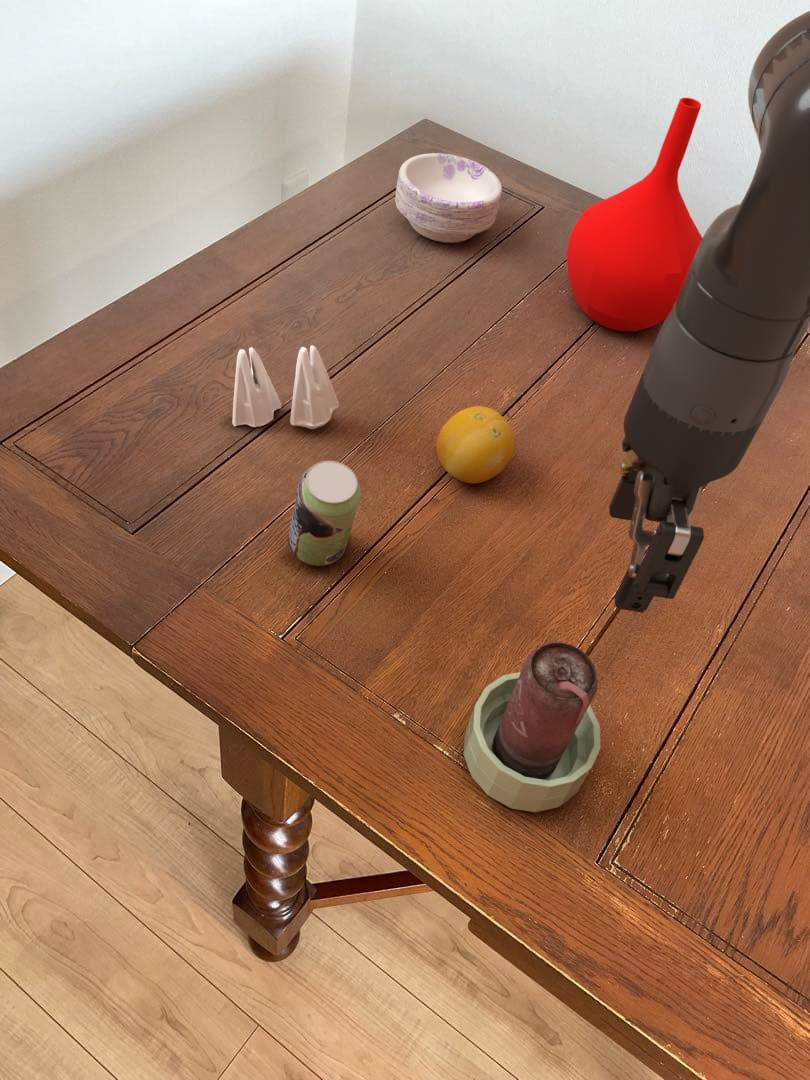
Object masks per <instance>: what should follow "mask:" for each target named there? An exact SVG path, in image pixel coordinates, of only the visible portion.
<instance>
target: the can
mask: <svg viewBox="0 0 810 1080" xmlns="http://www.w3.org/2000/svg"><path fill="white" fill-rule="evenodd" d="M520 672H521V673H520V676H519V678H518V680H517V683H516V685H515V688H514V690H513V693H512V695H511V697H510V700H509V702H508V705H507V707H506V709H505V712H504V714H503V717H502V719H501V722H500V724H499V726H498V729H497V731H496V734H495V736H494V738H493V745H492V750H493V754H494V755H495V756H496V757H497V758H498V759H499V760H500V761H501V763H502V764H503V765H504V766H506V767H508V768H510V769H512V770H514V771H515V772H517V773H519V774H521V775H523V776H525V777H530V778H536V779H542V780H543V779H545V778H547V777H548V776H550V775H551V774H552V773H553V772H554V770H555V768H556V767H557V765H558V763H559V761H560V759H561V757H562V755H563V754H564V752H565V750H566V748H567V746H568V744H569V742H570V740H571V739H572V737H573V735H574V733H575V731H576V729H577V727H578V726H579V724H580V722H581V720H582V718H583V716H584V714H585V712H586V711H587V709H588V707H589V705H590V706H591V703H592V701H593V699H594V697H595V696H596V693H597V691H598V683H599V679H598V676H597V675H598V674H597V670H596V666H595V664H594V663H593V661H592V659H591V658H590V656H588V655H587V654H586V653H585V651H583V650H582V649H580V648H578V647H577V646H574V645H573V644H570V643H565V642H561V641H560V642H559V641H558V642H549V643H546V644H544V645H541V646H540V647H537V648H536V649H535V650H533V651H532V652H531V653H529V654H528V656H527V658H526V660H525V661H524V664H523V666H522V668H521V671H520Z"/></svg>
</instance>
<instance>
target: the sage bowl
mask: <svg viewBox="0 0 810 1080" xmlns="http://www.w3.org/2000/svg"><path fill="white" fill-rule="evenodd" d="M520 673H521V671H518V672H513V673H508V674H503V675H501V676H500V677H499V678H497V679H495V680H494V681H492V682H491V683H490V684H488V685H487V686H485V687H484V689H483V690H482V692H481V694H480V696H479V697H478V699H477V701H476V702H475V704H474V707H473V710H472V712H471V715H470V718H469V721H468V723H467V725H466V729H465V731H464V738H463V757H464V760H465V763H466V765H467V768H468V770H469V773H470V776H471V778H472V779H473V780H474V782H475V783H476V784H477V785H478V786H479V787H480V788H481V789H482V791H483V792H484V793H485V795H486V796H488V797H490V798H492V799H493V800H495V801H497V802H499V803H501V804H503V805H504V806H506V807H507V808H509V809H512V810H518V811H524V812H531V813H540V812H543V811H548V810H552V809H556V808H560V807H562V806H563V804H565V803H566V802H567V801H569V800H570V799H571V798H573V797H574V796H575V795H576V794H577V793H578V792H579V791H580V788H581V787H582V785H583V784H584V782H585V780H586V778H587V777H588V775H589V774H590V771H591V770H592V768H593V766H594V764H595V762H596V759H597V758H598V756H599V753H600V751H601V725H600V723H599V721H598V719H597V717H596V714H595V712H594V710H593V708H592V705H591V704H590V705H589V707H588V709H587V711H586V712H585V714H584V716H583V718H582V720H581V722H580V724H579V726H578V727H577V729H576V731H575V733H574V735H573V737H572V739H571V740H570V742H569V744H568V746H567V748H566V750H565V752H564V754H563V755H562V757H561V759H560V761H559V763H558V765H557V767H556V768H555V770H554V772H553V773H552V774H551V775H550V776H548V777H547V778H545V779H543V780H542V779H536V778H530V777H525V776H523V775H521V774H519V773H517V772H515V771H514V770H512V769H510V768H508V767H506V766H504V765H503V764H502V763H501V761H500V760H499V759H498V758H497V757H496V756H495V755H494V754H493V750H492V745H493V738H494V736H495V734H496V731H497V729H498V726H499V724H500V722H501V719H502V717H503V714H504V712H505V709H506V707H507V705H508V702H509V700H510V697H511V695H512V693H513V690H514V688H515V685H516V683H517V680H518V678H519V676H520Z"/></svg>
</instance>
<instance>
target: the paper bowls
mask: <svg viewBox="0 0 810 1080" xmlns="http://www.w3.org/2000/svg"><path fill="white" fill-rule="evenodd" d="M502 193H503V185H502V183H501V181H500V178H499V177H498V175H496V174H495V173H494V172H493V170H491V169H490V168H488V167H486V166H485V165H483V164H481V163H479V162H477V161H475V160H472V159H469V158H466V157H463V156H461V155H455V154H451V153H442V152H441V153H438V152H433V153H432V152H431V153H423V154H422V153H421V154H418V155H414V156H412V157H410V158H408V159H407V160H405V161H404V162H403V163H402V164H401V166H400V168H399V170H398V177H397V182H396V188H395V197H394V202H395V206H396V209H397V210H398V211H399V212H400V214H402V216H403V217H405V219H407V220H408V223H409V224H410V226H411V228H413V230H414V231H415V232H417V233H418V234H419V235H421V236H422V237H424V238H426V239H429V240H431V241H435V242H438V243H446V244H447V243H449V244H456V243H462V242H465V241H467V240H470V239H472V237H474V236H475V235H476V234H481V233H484V232H485V231H487V230H489V229H490V228H491V227H492V226H493V225H494V223H495V222H496V218H497V215H498V210H499V206H500V201H501V199H502Z"/></svg>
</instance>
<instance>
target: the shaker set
mask: <svg viewBox="0 0 810 1080" xmlns="http://www.w3.org/2000/svg"><path fill="white" fill-rule="evenodd" d="M248 355H249V358H248ZM248 355H247V352H246V350H245V349H243V348H240V349H239V350H238V352H237V356H236V365H235V376H234V386H233V387H234V389H233V401H232V418H231V419H232V422H231V424H232V425H233V427H237V426H243V425H247V426H249V427H252V428H257V427H262V426H264V425H267V424H269V423H270V422H272V421H273V420H274V414H275V413H274V412H275V411H276V410H279V409H282V407H283V404H282V402H281V401H280V398H279V395H278V393H277V390H276V389H275V387H274V385H273V383H272V380H271V378H270V375H269V374H268V372H267V370H266V368H265V366H264V363H263V361H262V360H261V357H260V356H259V353H258V352H257V351H256V349H255V348H254V347H252V346H251V347H249V348H248ZM249 361H250V362H249ZM339 407H340V402H339V401H338V398H337V395H336V392H335V389H334V387H333V384H332V381H331V378H330V376H329V374H328V371H327V369H326V366H325V364H324V361H323V359H322V355H321V354H320V352H319V350H318V348H317V347H316V346H315V345H313V344H311V345H310V346H309V352H308V349H307V348H306V347H305V346H302V347H300V349H299V350H298V355H297V359H296V367H295V375H294V383H293V391H292V399H291V409H290V420H289V423H290V425H291V426H294V427H295V426H298V427H303V428H305V429H306V428H307V429H310V430H315V429H318V428H322V427H323V426H325V425H326V424H327V423H328V422H329V421H330V420H331V419H332V414H333V413H334V411H336V409H338V408H339Z"/></svg>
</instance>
